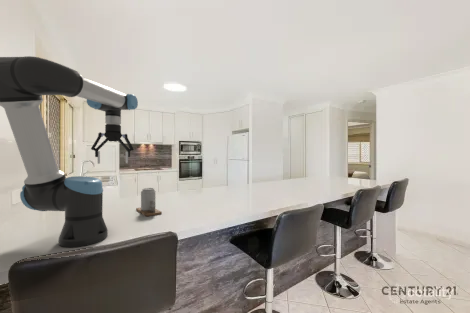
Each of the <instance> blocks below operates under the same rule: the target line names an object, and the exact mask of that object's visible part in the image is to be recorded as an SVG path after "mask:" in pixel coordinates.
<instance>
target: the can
mask: <svg viewBox="0 0 470 313" xmlns="http://www.w3.org/2000/svg"><path fill="white" fill-rule="evenodd" d="M150 201H155V202H156V190H155V188H154V187H145V188H144V187H143V188H142V189H141V191H140V208H141V209H142V210H143V211H150Z"/></svg>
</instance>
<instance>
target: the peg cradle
mask: <svg viewBox="0 0 470 313" xmlns="http://www.w3.org/2000/svg"><path fill="white" fill-rule="evenodd" d="M135 210H136V212H138V213H140V214H142V215H143V216H144V217H146V218H147V217H152V216H157V215H158V216H159V215H162V211H161V210H159V209H157V208H156V200H155V201H150V211H143V210H142V209H141V207H136V209H135Z"/></svg>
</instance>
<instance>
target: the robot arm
mask: <svg viewBox="0 0 470 313" xmlns="http://www.w3.org/2000/svg"><path fill="white" fill-rule="evenodd" d="M43 96H65V97H68V98H75V97H79V98H82V99H85V100H86V105H87V106H88V107H90V108H92V109H94V110H97V111H101V112H104V113H105V115H104V116H105V118H104V120H105V122H104V123H105V125H104V126H105V127H104V128H105V129H104V130H105V132H98V133H97V134H98V135H97V138H96V140H95V141H94V142H93V144H92V146H91V148H90V150H92V151H94V157H95V158H97V164H98V165H99V164H101V151H100V149H102V147H103V146H105V144H106V143H108V142H116V143H117V142H118V143H119V144H120V145H121V147H122V148H124V150H126V151H125V163H126V164H129V158H130V157H131V151H134V147H133V146H132V143H131V142H130V140H129V137H128V134H127V133H124V134H122V126H121V125H122V111H125V110H126V111H132V110H136V109H137V108H138V101H139V100H138V98H137V96H136V95H135V94H131V93H123V92H121V91H118V90H115V89H114V88H112V87H109V86H106V85H104V84H101V83H98V82H97V81H94V80H93V79H92V80H91V79H89V78H87V77H84V76H83V75H82V74H81V73H80V72H79V71H77V70H76V69H73V68H70V67H68V66H66V65H63V64H61V63H58V62H55V61H52V60H50V59H47V58H42V57H39V56H38V57H37V56H30V55H29V56H0V107H2V108H3V109H4V113H5V114H6V118H7V120H8V123H9V126H10V129H11V131H12V134H13V137H14V140H15V143H16V147H17V148H18V152H19V154H20V157H21V160H22V163H23V166H24V168H25V171H26V175H27V177H26V178H25V179H24V181H23V186H22V188H21V191H20V194H19V196H20V197H19V198H20V200H21V203H22V204H23V206H25V207H26V208H27V209H30V210H33V211H38V212H51V211H52V212H64V223H63V226H62V228H61V232H60V234H59V236H58V246H60V247H62V248H79V247H85V246H88V245H92V244H96V243H99V242H101V241H103V240H105V239H106V238H108V236H109V234H108V233H109V232H108V231H109V230H108V226H107V225H106V224H107V223H105V219H104V217H103V216H104V215H103V195H104V194H103V192H104V188H103V182H102V180H101V179H100V178H97V177H93V176H69V177H66V175H65V174H66V173H65V172H64V171H63V170H60V169H59V168H58V164H57V161H56V158H55V154H54V152H53V148H52V144H51V141H50V138H49V135H48V131H47V128H46V125H45V122H44V118H43V115H42V112H41V108H40V105H41V104H42V103H43V101H44V98H43ZM103 136H104V137H105V139H104V140H103V141H102V142H101V143H100V144H99V145H98V143H99V142H100V140H101V138H102V137H103ZM121 138H123V139H124V141H125V142H126V143H124V141H123V140H122V139H121ZM126 144H127V145H126ZM97 145H98V146H97Z"/></svg>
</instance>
